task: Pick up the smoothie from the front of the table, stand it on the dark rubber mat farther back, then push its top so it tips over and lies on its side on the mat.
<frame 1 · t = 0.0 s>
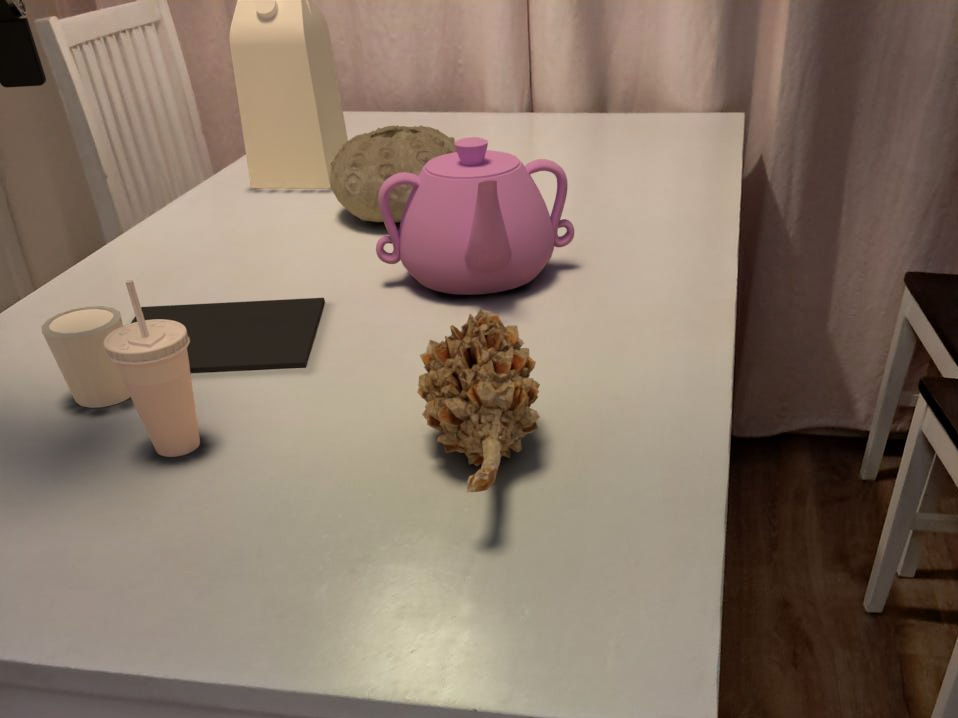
mat: (218, 337, 94), on the table
cream candle: (106, 395, 86), on the table
teapot: (480, 285, 102), on the table
decorative shell: (403, 215, 122), on the table
milk: (303, 177, 137), on the table
pine cone: (486, 470, 73), on the table
smoothie: (178, 447, 78), on the table
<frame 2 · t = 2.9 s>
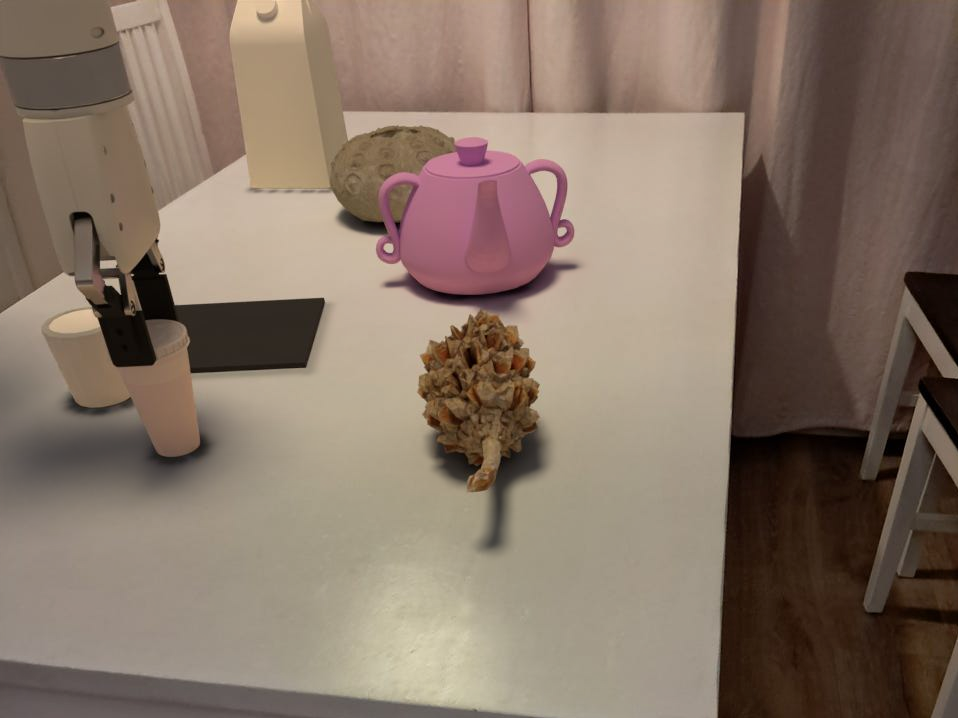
hand: (147, 342, 72), 9 cm above the table, tool pointing down, fingers closed on smoothie, 6 cm apart
smoothie: (178, 447, 78), on the table, touching gripper
everything else where it was.
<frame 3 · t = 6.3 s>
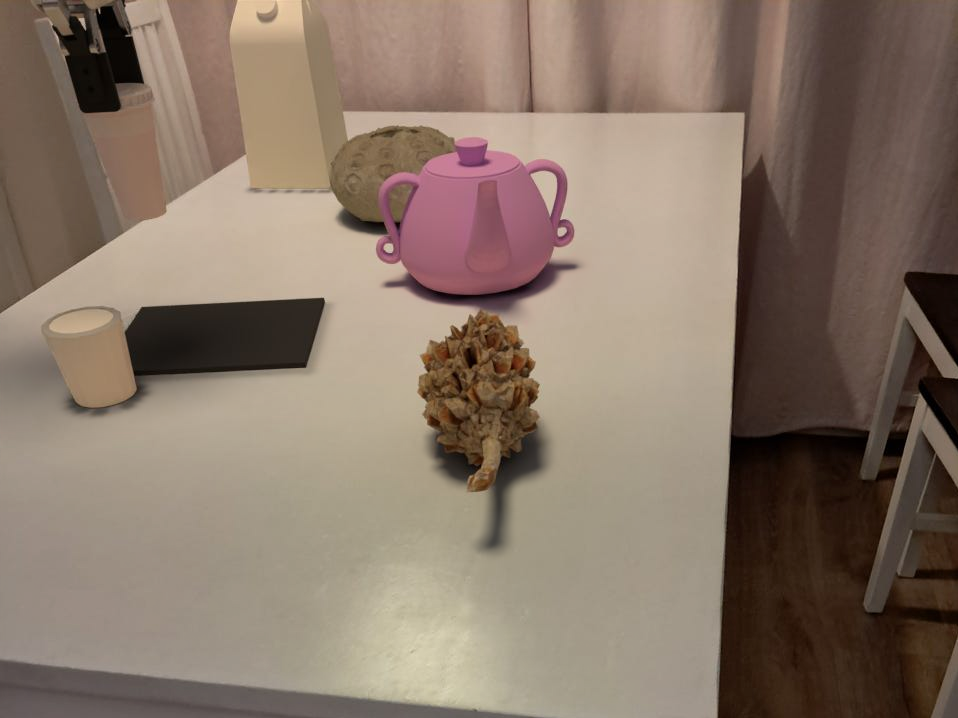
hand: (114, 99, 77), 22 cm above the table, tool pointing down, fingers closed on smoothie, 6 cm apart
smoothie: (146, 216, 83), point 13 cm above the table, touching gripper
everything else where it was.
when the fingers open (10 cm above the table, at t = 9.7 s): smoothie stays where it is, resting on mat.
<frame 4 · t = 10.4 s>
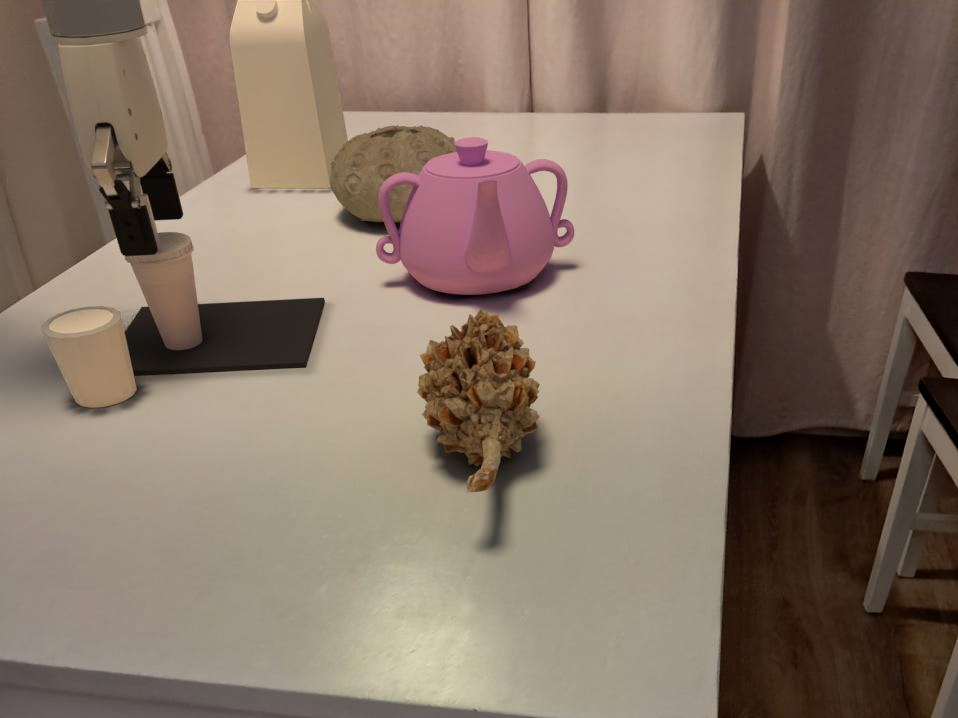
hand: (154, 235, 86), 11 cm above the table, tool pointing down, fingers open, 9 cm apart
smoothie: (184, 344, 93), resting on mat
everything else where it was.
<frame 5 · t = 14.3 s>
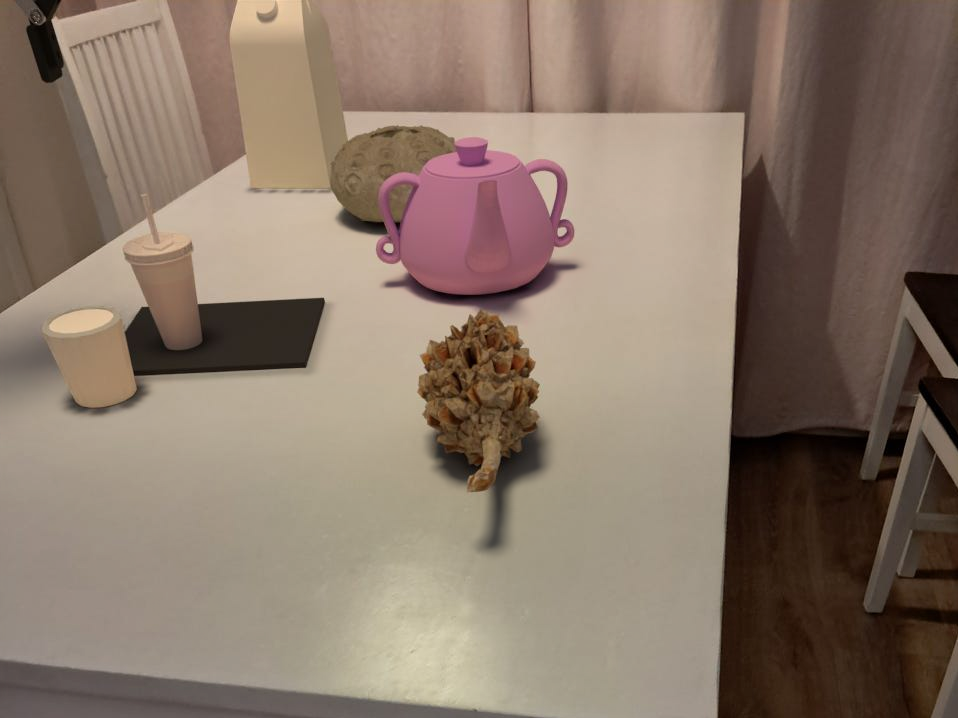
hand: (5, 80, 77), 24 cm above the table, tool pointing down, fingers open, 7 cm apart
nothing on the table moved.
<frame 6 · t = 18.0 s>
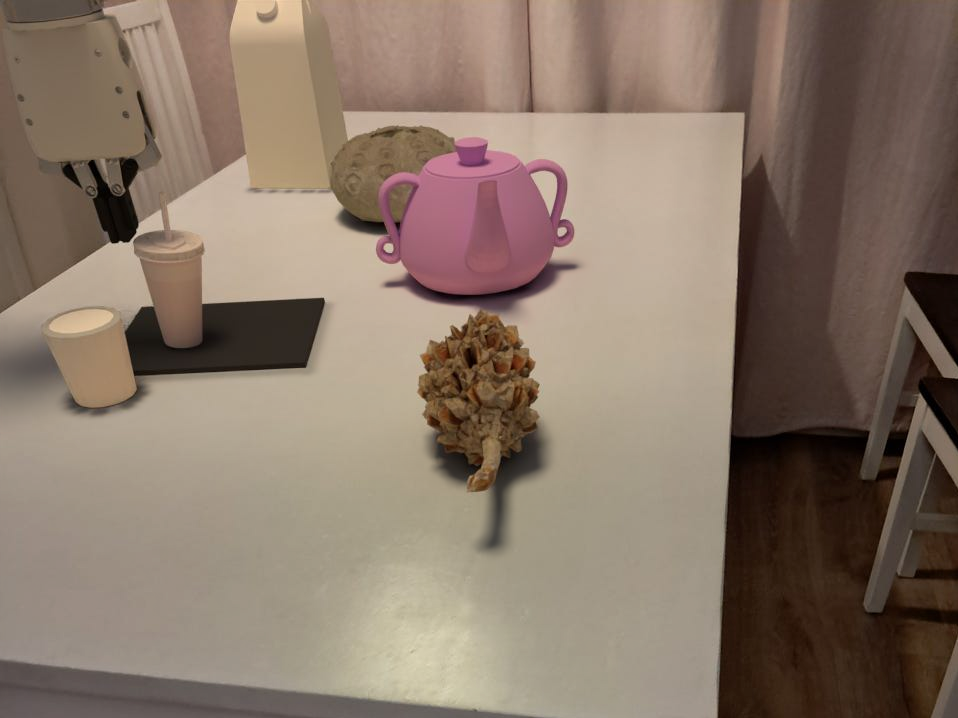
hand: (124, 237, 86), 11 cm above the table, tool pointing down, fingers closed
smoothie: (183, 342, 92), point 1 cm above the table, touching gripper, mat
everything else where it was.
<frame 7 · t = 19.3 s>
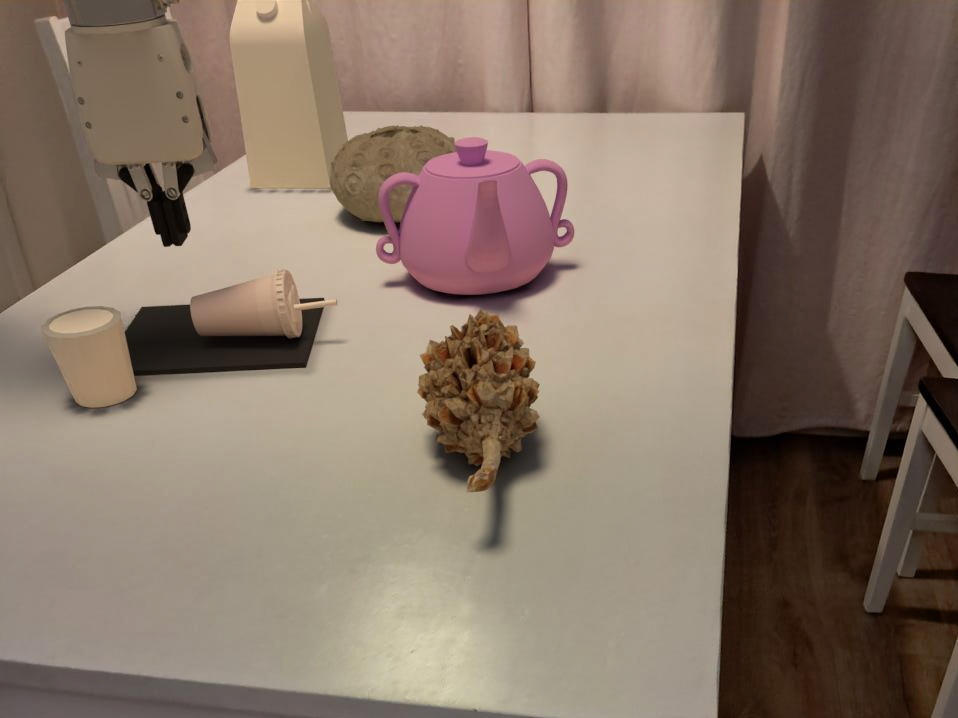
hand: (176, 241, 86), 10 cm above the table, tool pointing down, fingers closed
smoothie: (195, 316, 91), point 3 cm above the table, touching mat
everything else where it was.
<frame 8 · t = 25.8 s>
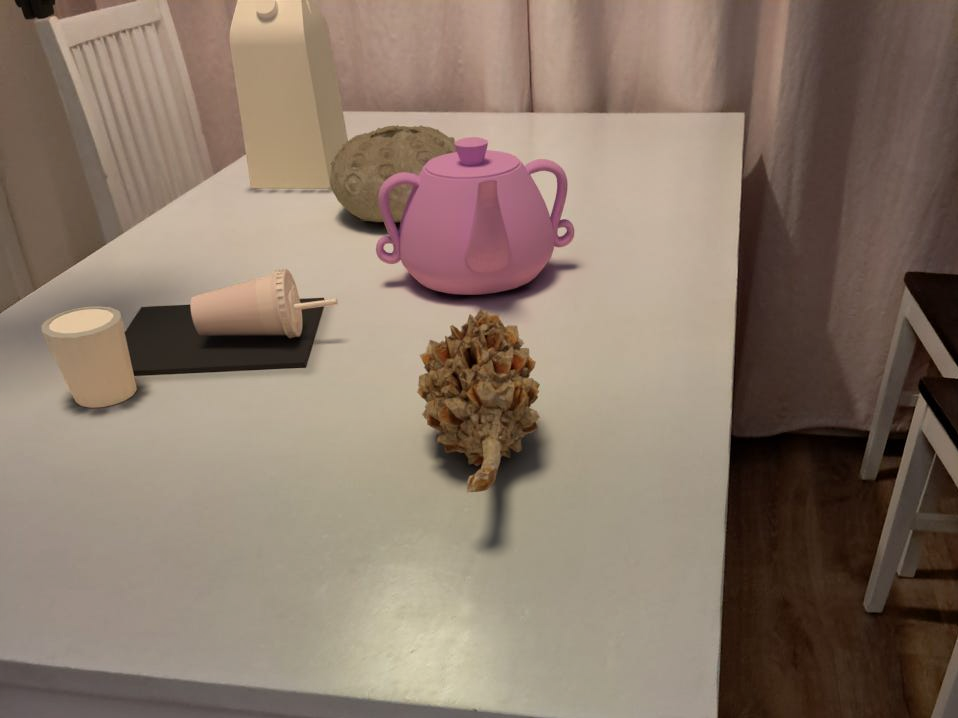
hand: (40, 16, 82), 27 cm above the table, tool pointing down, fingers closed
nothing on the table moved.
at the end: smoothie tilted 85°; smoothie inside the target area on the mat (2.9 cm from its centre), point 3.1 cm above the mat's base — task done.
